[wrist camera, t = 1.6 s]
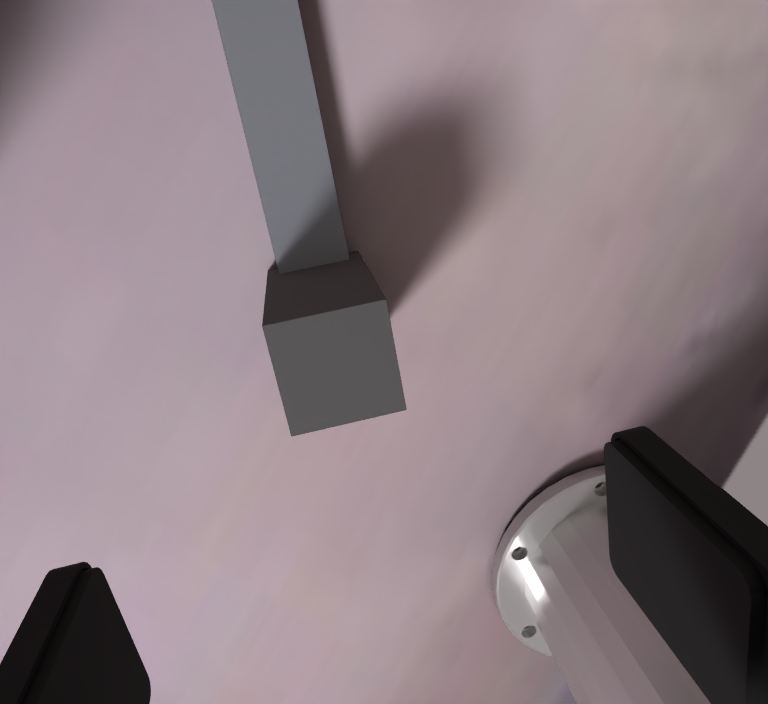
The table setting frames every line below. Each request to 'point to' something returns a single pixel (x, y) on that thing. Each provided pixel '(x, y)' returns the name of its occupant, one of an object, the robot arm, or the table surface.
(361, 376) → the blade tool
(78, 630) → the robot arm
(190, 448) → the table surface
